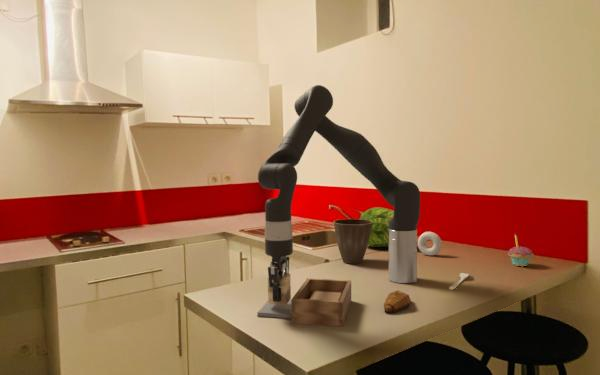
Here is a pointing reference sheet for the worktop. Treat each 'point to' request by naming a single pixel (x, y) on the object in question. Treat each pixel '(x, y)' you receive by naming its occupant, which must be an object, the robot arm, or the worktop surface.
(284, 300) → the maple block
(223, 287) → the worktop surface
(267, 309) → the plate
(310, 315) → the walnut crate
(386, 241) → the lettuce
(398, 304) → the croissant
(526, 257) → the cupcake
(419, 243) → the donut
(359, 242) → the plant pot
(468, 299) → the worktop surface
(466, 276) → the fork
